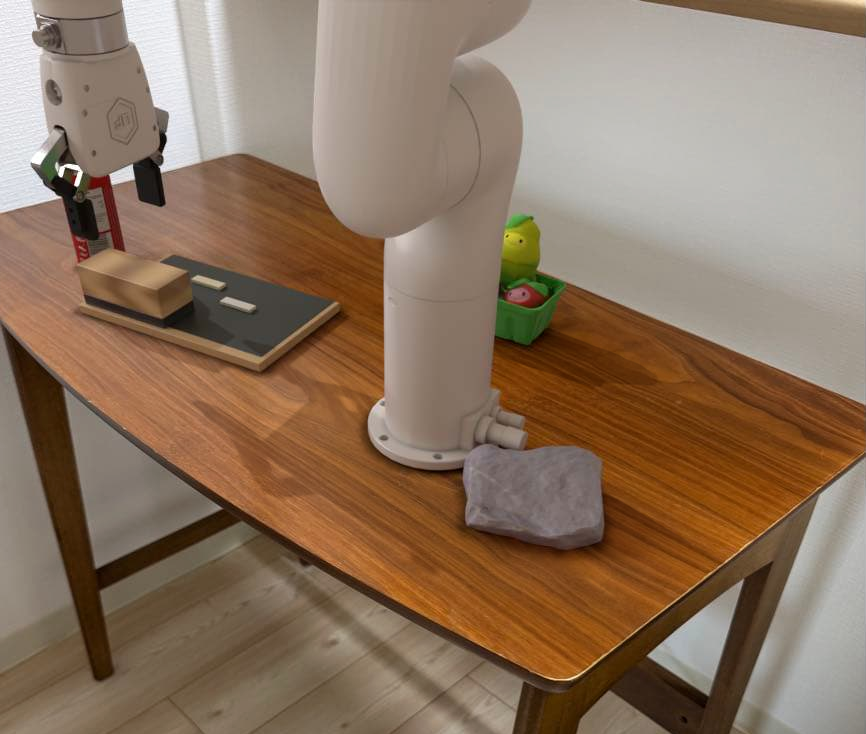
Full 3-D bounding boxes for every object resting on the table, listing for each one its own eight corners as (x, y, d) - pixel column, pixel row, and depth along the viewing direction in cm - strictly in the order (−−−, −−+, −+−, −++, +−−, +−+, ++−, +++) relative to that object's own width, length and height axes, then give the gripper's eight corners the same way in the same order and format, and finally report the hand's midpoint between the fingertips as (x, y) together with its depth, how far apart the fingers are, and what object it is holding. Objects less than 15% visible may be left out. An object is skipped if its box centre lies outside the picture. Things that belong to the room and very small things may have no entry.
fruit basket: (439, 325, 99) (443, 225, 91) (478, 294, 105) (484, 197, 97) (532, 355, 95) (545, 253, 87) (567, 321, 101) (581, 222, 93)
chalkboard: (340, 310, 101) (339, 302, 100) (260, 372, 91) (259, 364, 90) (171, 260, 109) (169, 252, 108) (80, 312, 99) (78, 304, 98)
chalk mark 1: (226, 286, 102) (225, 283, 102) (219, 290, 101) (219, 287, 101) (198, 278, 103) (197, 274, 103) (191, 282, 103) (190, 278, 102)
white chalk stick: (256, 308, 99) (256, 305, 98) (249, 313, 98) (249, 310, 97) (226, 299, 100) (226, 296, 100) (220, 304, 99) (219, 300, 99)
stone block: (606, 566, 74) (596, 473, 80) (614, 531, 70) (604, 436, 76) (461, 563, 74) (462, 471, 80) (461, 528, 70) (463, 434, 76)
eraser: (195, 309, 98) (188, 270, 95) (164, 329, 95) (157, 289, 92) (117, 285, 102) (109, 247, 99) (85, 303, 98) (75, 264, 95)
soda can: (112, 250, 110) (90, 149, 102) (136, 265, 107) (115, 163, 99) (70, 263, 107) (44, 160, 99) (94, 279, 104) (69, 175, 96)
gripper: (41, 62, 73) (86, 261, 85) (180, 19, 85) (203, 199, 96) (-26, 46, 76) (28, 241, 87) (118, 7, 87) (149, 184, 99)
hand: (120, 219), depth 92 cm, fingers open, 9 cm apart
